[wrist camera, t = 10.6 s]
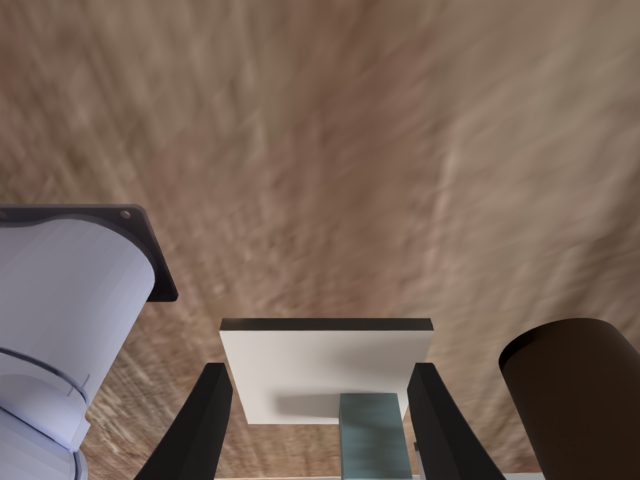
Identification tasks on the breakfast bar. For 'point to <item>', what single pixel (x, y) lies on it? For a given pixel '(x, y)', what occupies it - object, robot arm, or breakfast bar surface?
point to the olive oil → (577, 398)
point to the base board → (320, 363)
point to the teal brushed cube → (372, 438)
